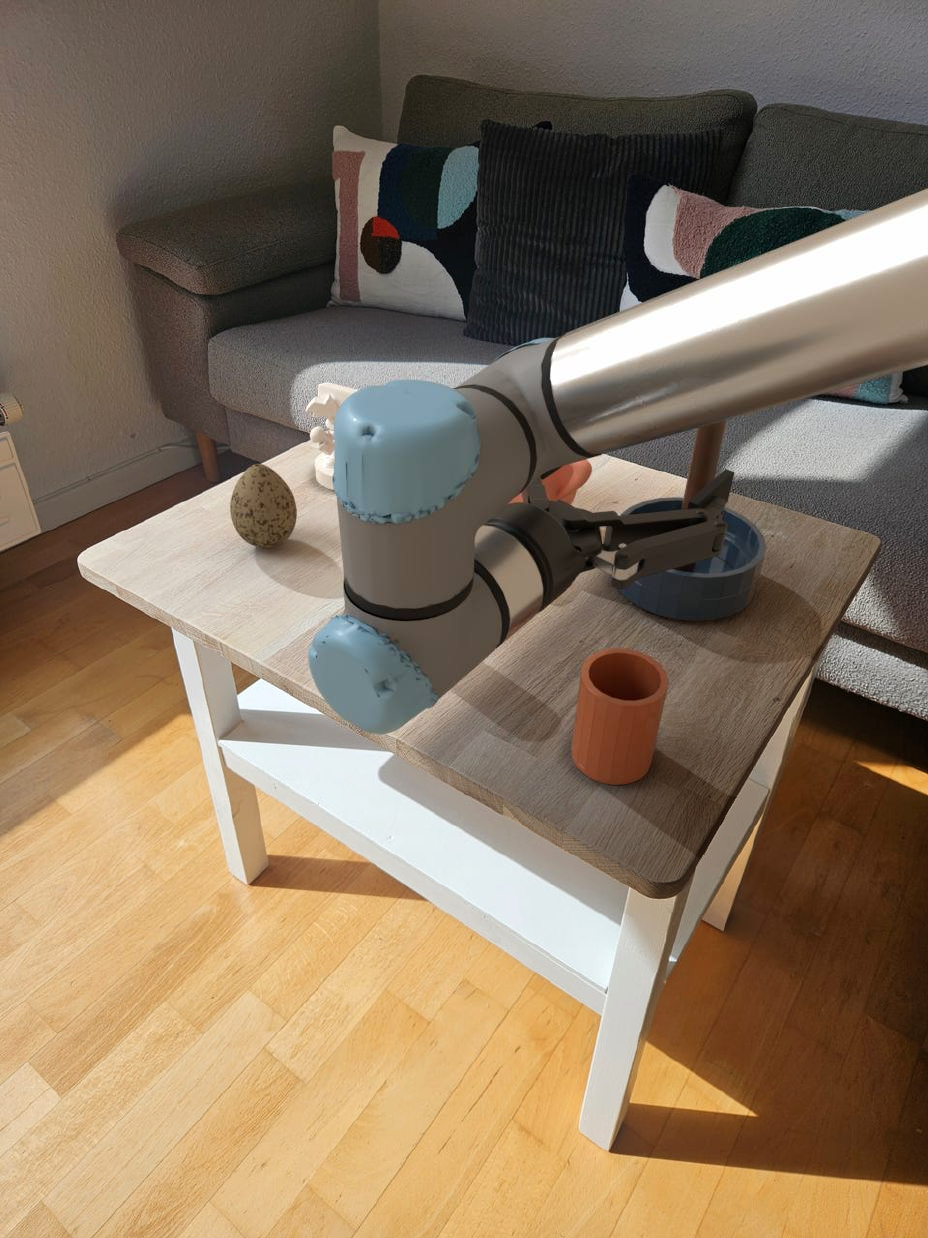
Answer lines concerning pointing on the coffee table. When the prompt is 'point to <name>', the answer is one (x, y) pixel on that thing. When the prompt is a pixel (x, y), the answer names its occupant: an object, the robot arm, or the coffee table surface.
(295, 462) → the coffee table surface
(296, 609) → the coffee table surface
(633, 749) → the utensil pot
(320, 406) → the character figurine
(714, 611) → the bowl
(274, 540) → the decorative egg
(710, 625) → the coffee table surface
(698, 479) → the stirring stick
